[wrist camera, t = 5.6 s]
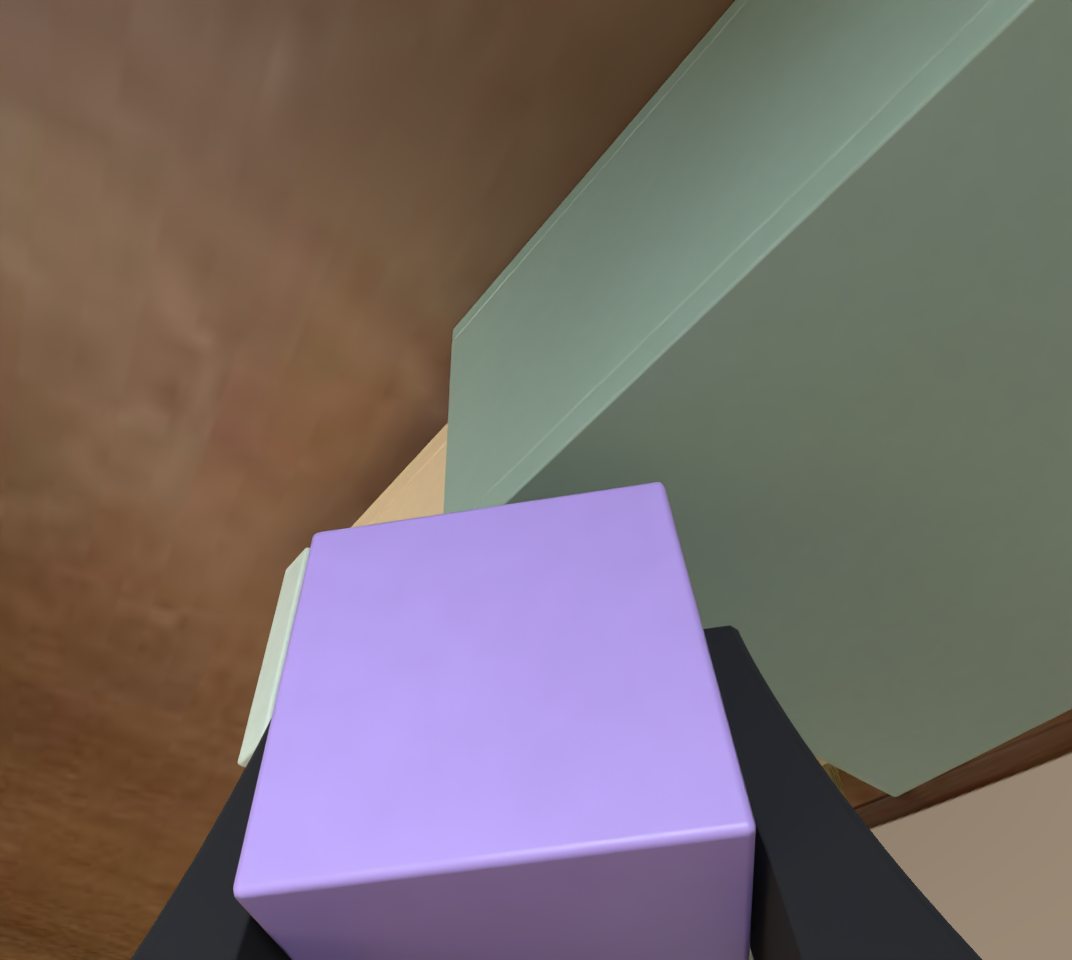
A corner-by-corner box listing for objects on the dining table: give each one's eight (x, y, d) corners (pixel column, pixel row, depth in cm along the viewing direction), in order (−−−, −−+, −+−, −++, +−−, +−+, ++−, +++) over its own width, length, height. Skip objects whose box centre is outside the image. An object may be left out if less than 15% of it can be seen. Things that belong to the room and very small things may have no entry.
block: (663, 477, 11) (758, 830, 7) (677, 690, 14) (748, 1013, 10) (311, 530, 11) (226, 895, 7) (401, 727, 14) (373, 1054, 10)
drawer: (489, 787, 31) (491, 962, 26) (190, 674, 26) (126, 868, 21) (895, 503, 23) (1003, 686, 18) (574, 246, 17) (609, 412, 13)
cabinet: (797, 564, 25) (894, 798, 19) (451, 329, 19) (439, 564, 13) (1245, 247, 19) (1590, 450, 13) (938, -239, 13) (1312, -269, 7)
